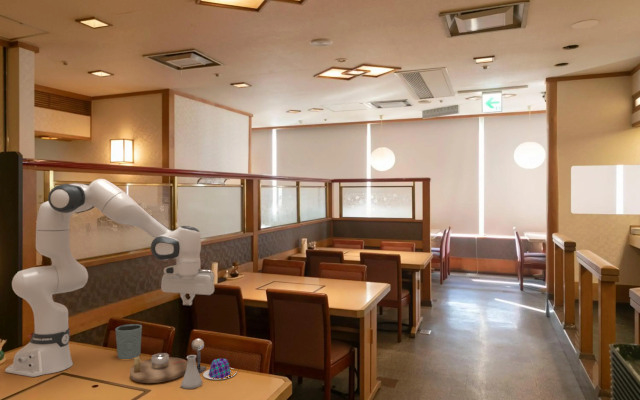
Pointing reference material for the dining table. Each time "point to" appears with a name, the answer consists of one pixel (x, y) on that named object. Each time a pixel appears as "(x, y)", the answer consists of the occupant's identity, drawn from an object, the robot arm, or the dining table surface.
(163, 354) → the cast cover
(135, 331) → the grey green cup
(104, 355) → the dining table surface
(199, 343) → the grey knobbed rod
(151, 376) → the turntable
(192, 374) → the flask
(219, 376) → the pudding
